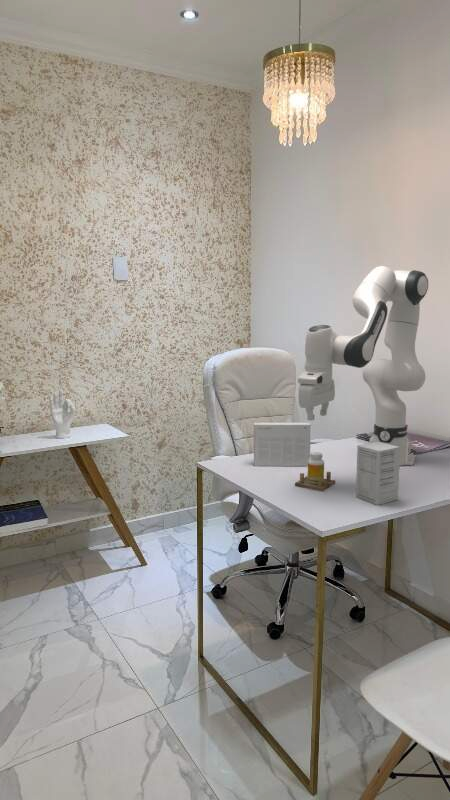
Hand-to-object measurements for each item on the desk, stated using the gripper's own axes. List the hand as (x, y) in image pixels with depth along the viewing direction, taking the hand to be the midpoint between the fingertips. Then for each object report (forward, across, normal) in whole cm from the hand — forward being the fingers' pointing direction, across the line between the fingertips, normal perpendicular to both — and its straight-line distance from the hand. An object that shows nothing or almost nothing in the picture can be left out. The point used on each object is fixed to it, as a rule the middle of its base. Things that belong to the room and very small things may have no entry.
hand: (317, 417), depth 182 cm
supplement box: (+23, +2, +22) cm, 32 cm away
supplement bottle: (+22, 0, 0) cm, 22 cm away
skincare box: (+23, -15, -21) cm, 35 cm away
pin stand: (+23, 0, 0) cm, 23 cm away
